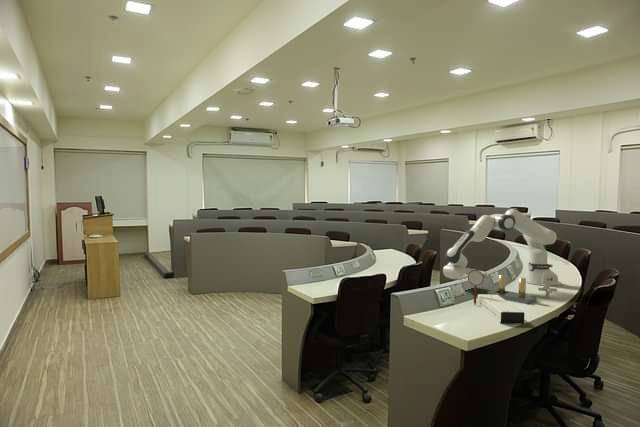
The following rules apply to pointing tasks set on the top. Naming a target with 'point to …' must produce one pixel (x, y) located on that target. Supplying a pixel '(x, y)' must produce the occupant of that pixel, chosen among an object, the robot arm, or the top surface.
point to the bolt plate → (516, 294)
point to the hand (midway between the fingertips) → (486, 278)
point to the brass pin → (502, 284)
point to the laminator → (500, 309)
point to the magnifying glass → (475, 280)
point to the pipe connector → (547, 289)
